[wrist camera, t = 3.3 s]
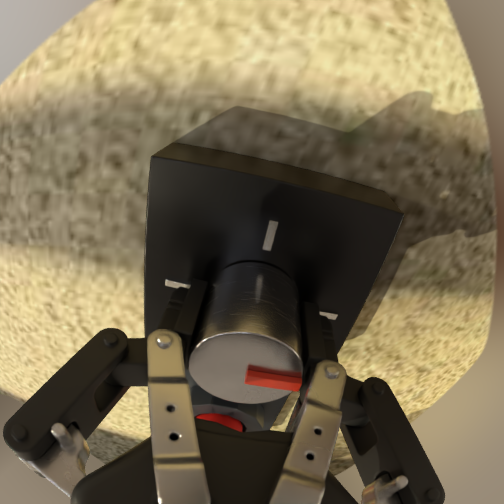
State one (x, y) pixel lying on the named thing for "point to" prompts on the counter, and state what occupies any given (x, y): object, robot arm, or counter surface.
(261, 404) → the button housing
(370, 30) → the counter surface
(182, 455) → the robot arm
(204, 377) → the stove knob
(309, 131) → the counter surface
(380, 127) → the counter surface
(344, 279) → the stove panel
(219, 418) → the power button
